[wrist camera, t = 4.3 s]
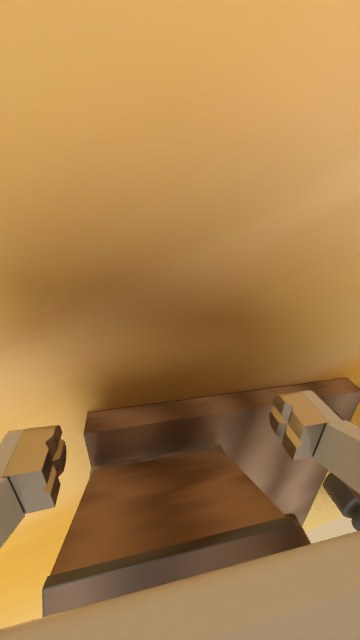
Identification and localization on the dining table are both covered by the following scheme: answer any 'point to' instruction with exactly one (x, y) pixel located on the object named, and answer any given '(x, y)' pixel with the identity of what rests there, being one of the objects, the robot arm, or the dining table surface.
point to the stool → (225, 438)
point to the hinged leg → (162, 527)
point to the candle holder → (343, 499)
